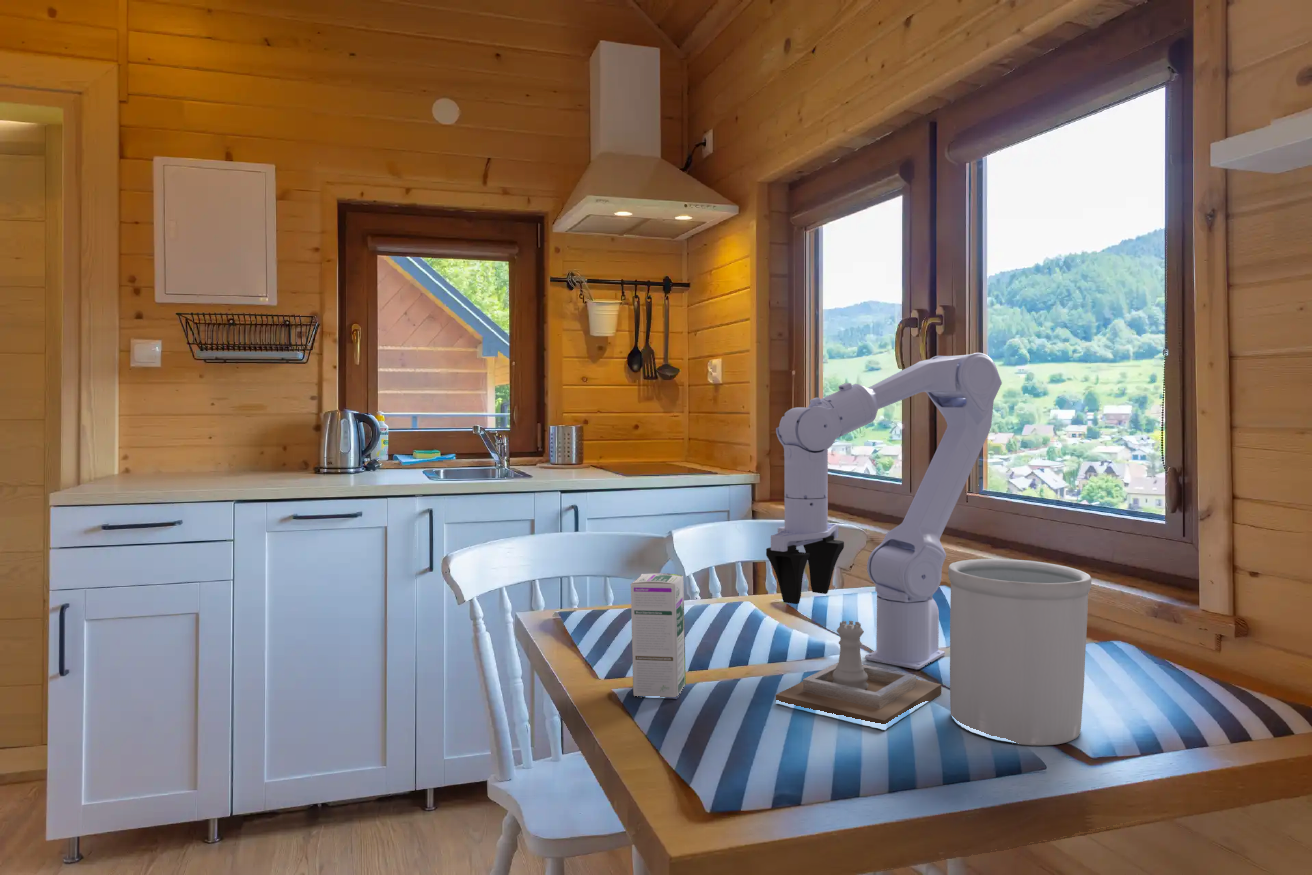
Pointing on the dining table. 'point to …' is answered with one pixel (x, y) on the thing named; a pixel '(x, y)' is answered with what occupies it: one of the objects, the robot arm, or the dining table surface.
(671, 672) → the syrup box
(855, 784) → the dining table surface
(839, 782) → the dining table surface
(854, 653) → the rook chess piece
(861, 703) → the collar board
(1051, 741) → the utensil holder
